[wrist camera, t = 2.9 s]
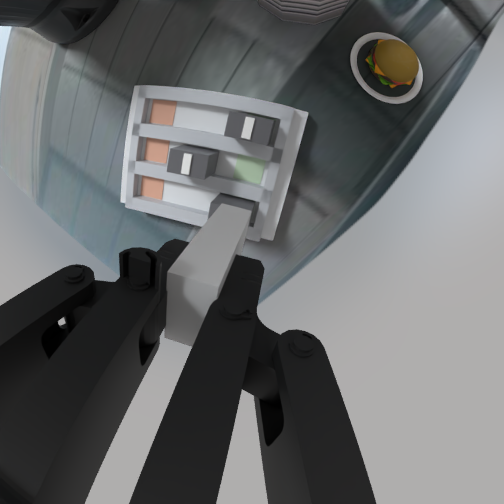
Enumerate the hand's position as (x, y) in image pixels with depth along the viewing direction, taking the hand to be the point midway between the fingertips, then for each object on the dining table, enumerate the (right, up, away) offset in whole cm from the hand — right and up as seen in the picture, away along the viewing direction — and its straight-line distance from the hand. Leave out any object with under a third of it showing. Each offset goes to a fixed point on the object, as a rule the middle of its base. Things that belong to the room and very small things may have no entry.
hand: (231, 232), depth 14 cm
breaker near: (+1, +12, +12) cm, 17 cm away
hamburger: (+16, +20, +9) cm, 27 cm away
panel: (-4, +10, +16) cm, 19 cm away
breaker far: (-1, +4, +17) cm, 17 cm away
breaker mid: (-5, +9, +15) cm, 18 cm away
